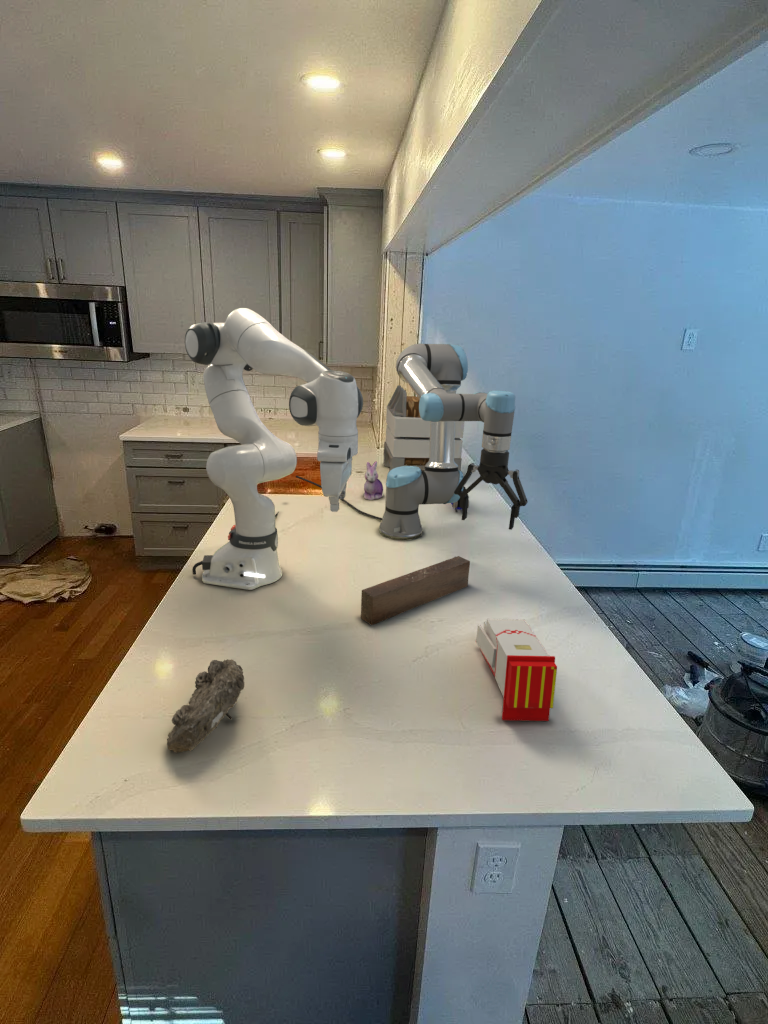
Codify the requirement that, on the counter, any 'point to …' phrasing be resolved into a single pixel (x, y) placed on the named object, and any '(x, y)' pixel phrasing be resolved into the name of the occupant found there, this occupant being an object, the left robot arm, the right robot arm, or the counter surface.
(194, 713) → the fossil
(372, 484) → the figurine
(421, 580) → the walnut beam
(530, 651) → the toy
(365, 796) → the counter surface
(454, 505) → the figurine character
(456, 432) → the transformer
